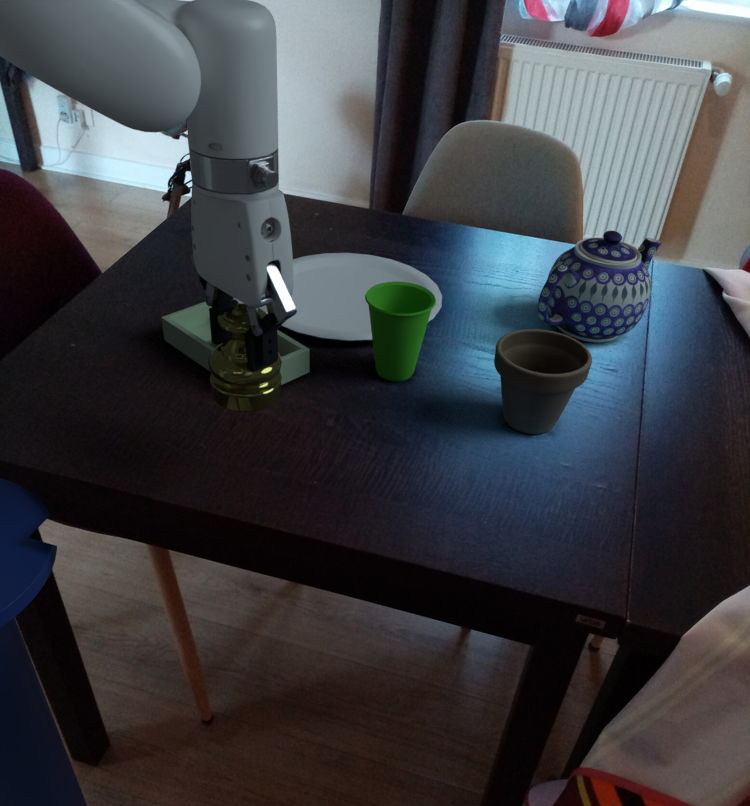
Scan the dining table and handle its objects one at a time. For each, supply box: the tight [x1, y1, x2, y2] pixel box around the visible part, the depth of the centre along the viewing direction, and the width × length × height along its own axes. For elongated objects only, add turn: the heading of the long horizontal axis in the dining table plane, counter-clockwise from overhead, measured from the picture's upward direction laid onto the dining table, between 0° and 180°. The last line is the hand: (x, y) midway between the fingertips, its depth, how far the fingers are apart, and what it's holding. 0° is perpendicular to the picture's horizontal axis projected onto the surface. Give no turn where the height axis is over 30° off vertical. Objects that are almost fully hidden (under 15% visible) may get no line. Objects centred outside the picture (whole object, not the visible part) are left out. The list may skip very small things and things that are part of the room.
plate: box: [281, 252, 443, 343], centre depth 121 cm, size 29×29×2 cm
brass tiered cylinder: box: [208, 303, 282, 413], centre depth 79 cm, size 7×7×10 cm
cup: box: [365, 282, 436, 382], centre depth 103 cm, size 9×9×11 cm
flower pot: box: [493, 328, 593, 435], centre depth 96 cm, size 12×11×10 cm
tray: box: [160, 301, 311, 386], centre depth 106 cm, size 10×19×4 cm, turn 45°
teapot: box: [536, 230, 662, 344], centre depth 114 cm, size 25×15×15 cm, turn 125°
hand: (244, 350), depth 79 cm, fingers closed on brass tiered cylinder, 5 cm apart
